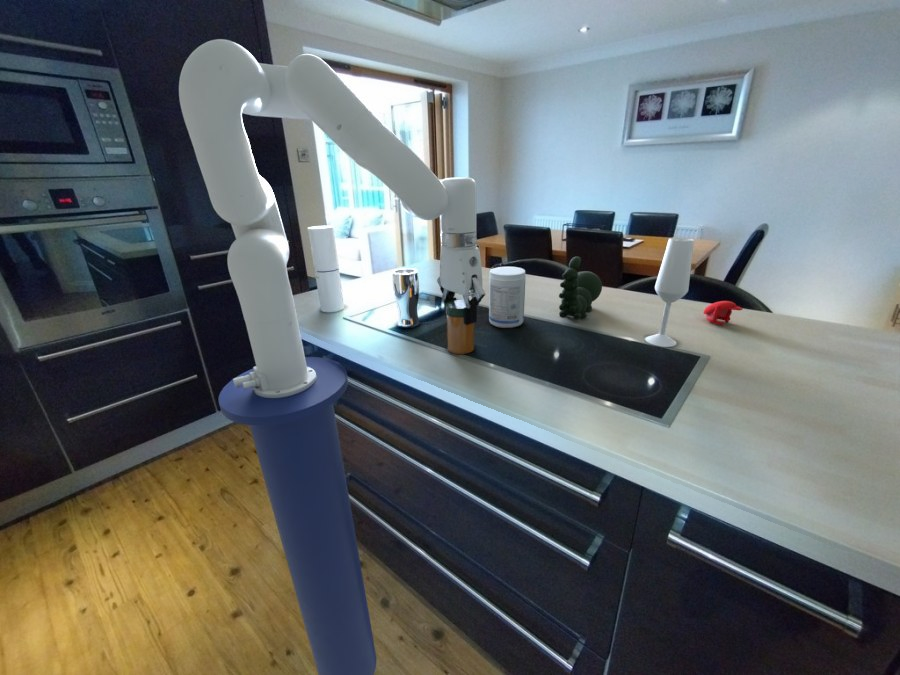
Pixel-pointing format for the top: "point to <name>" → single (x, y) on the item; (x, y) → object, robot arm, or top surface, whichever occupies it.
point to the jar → (459, 335)
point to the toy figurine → (578, 291)
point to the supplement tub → (506, 296)
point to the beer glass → (406, 296)
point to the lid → (455, 308)
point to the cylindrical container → (326, 268)
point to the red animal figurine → (720, 311)
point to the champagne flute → (672, 282)
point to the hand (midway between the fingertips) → (460, 318)
